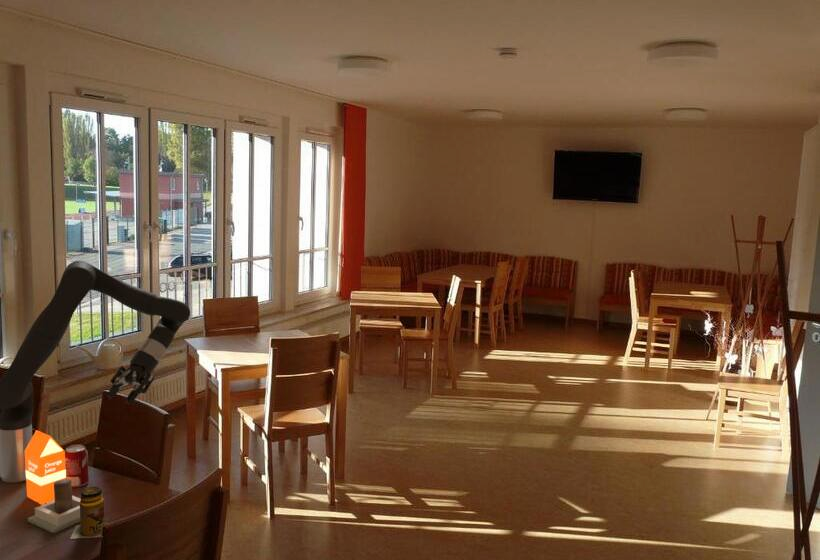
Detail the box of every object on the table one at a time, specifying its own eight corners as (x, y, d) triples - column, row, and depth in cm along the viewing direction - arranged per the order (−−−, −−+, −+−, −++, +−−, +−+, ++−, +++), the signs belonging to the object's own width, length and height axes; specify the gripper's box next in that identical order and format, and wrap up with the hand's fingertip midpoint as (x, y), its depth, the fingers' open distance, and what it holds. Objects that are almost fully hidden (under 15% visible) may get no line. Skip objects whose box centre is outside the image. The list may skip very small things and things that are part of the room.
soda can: (79, 490, 217) (77, 453, 215) (60, 487, 219) (58, 451, 217) (93, 481, 224) (92, 445, 222) (74, 478, 225) (73, 443, 223)
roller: (51, 514, 200) (50, 483, 198) (66, 508, 203) (65, 477, 202) (61, 519, 197) (60, 487, 196) (76, 512, 201) (74, 481, 200)
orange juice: (52, 487, 218) (48, 426, 215) (67, 496, 213) (64, 433, 210) (26, 496, 212) (22, 433, 209) (41, 505, 207) (38, 440, 204)
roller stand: (27, 521, 197) (27, 509, 197) (73, 502, 209) (72, 491, 209) (53, 533, 191) (52, 521, 191) (99, 513, 203) (98, 501, 203)
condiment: (103, 536, 190) (101, 495, 189) (69, 539, 189) (67, 497, 187) (108, 523, 198) (107, 483, 196) (76, 526, 196) (74, 485, 194)
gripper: (126, 346, 224) (95, 389, 216) (156, 352, 217) (126, 398, 209) (140, 358, 229) (111, 402, 221) (170, 365, 222) (141, 410, 214)
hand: (118, 400), depth 215 cm, fingers open, 8 cm apart
